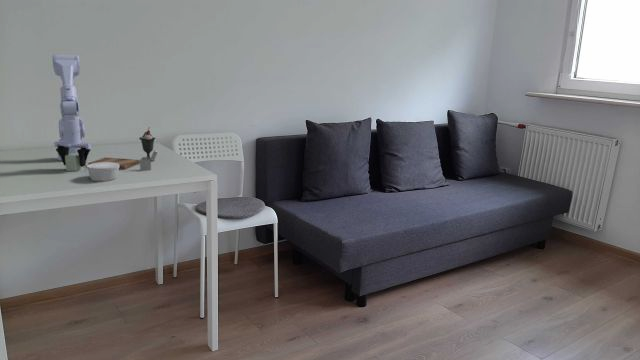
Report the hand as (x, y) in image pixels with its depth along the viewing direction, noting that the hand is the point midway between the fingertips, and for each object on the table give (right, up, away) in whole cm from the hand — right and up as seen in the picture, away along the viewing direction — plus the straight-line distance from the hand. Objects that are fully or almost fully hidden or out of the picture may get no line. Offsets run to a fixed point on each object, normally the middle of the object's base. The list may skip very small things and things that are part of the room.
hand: (74, 165), depth 200 cm
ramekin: (+16, -5, -11) cm, 20 cm away
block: (0, -2, 0) cm, 2 cm away
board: (+12, +1, +11) cm, 16 cm away
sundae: (+22, +3, +21) cm, 31 cm away
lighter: (+28, -2, +5) cm, 29 cm away
